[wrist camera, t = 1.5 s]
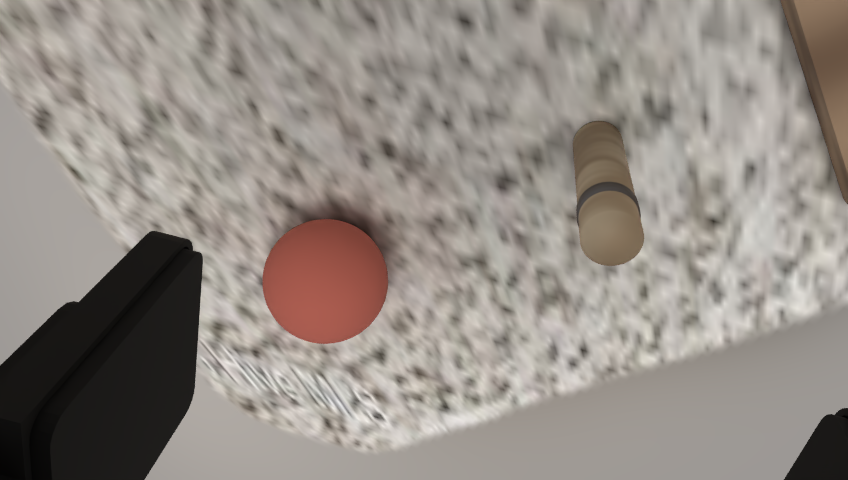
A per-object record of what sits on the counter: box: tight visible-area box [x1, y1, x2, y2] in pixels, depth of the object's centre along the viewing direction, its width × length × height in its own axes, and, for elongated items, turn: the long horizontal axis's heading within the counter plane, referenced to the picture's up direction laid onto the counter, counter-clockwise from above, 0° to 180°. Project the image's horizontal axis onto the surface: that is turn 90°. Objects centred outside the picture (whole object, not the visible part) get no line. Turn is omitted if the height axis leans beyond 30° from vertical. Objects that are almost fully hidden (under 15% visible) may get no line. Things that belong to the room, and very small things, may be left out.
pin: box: [573, 121, 644, 266], centre depth 31 cm, size 2×2×9 cm
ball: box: [263, 219, 388, 344], centre depth 37 cm, size 6×6×6 cm
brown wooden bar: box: [781, 0, 848, 204], centre depth 30 cm, size 14×2×2 cm, turn 28°
